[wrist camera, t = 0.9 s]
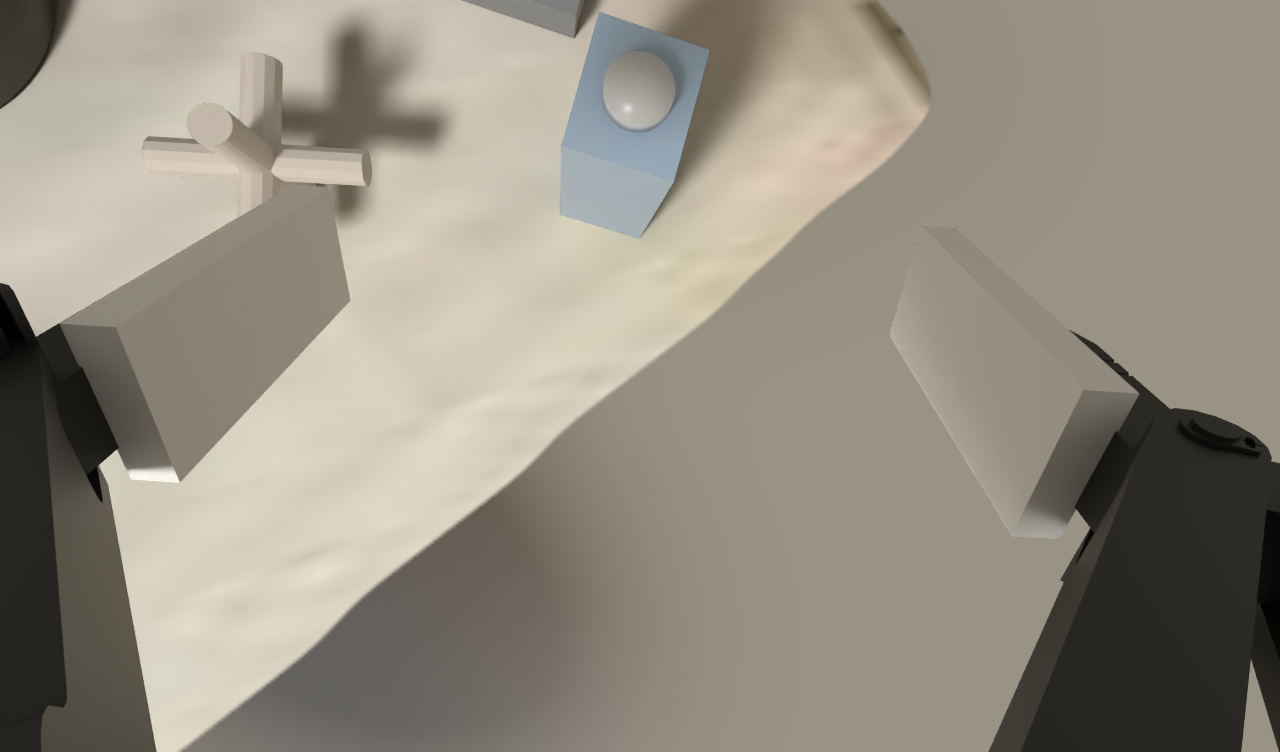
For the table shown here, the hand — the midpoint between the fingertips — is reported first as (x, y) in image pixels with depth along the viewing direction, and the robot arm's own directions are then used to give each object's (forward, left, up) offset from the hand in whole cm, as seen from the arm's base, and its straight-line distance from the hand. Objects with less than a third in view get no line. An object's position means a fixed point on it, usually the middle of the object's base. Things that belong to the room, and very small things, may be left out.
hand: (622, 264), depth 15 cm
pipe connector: (-18, +4, -25) cm, 31 cm away
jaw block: (-1, +10, -25) cm, 27 cm away
